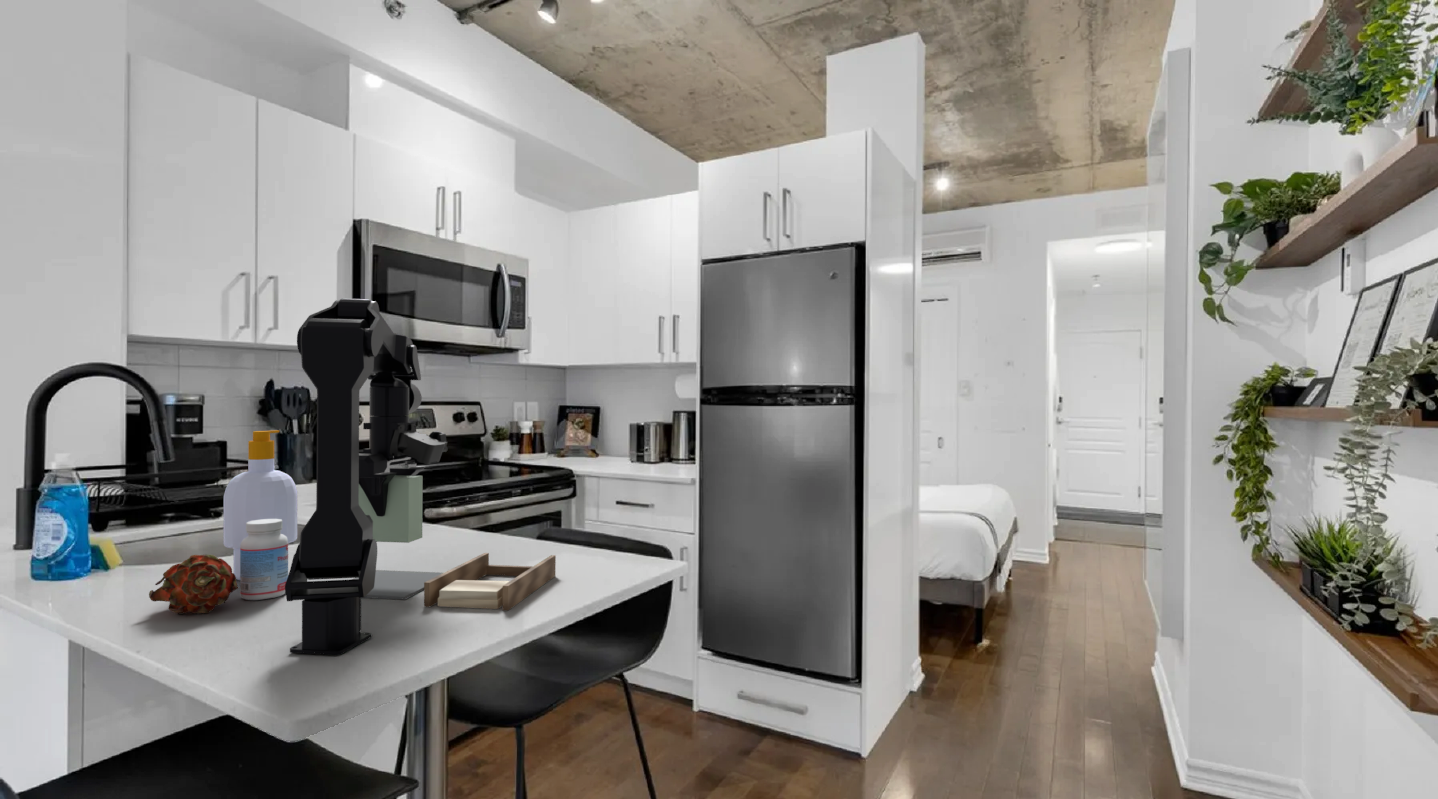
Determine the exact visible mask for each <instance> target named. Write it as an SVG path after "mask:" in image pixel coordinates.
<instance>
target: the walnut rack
mask: <svg viewBox="0 0 1438 799" xmlns="http://www.w3.org/2000/svg"><path fill="white" fill-rule="evenodd" d="M556 556H557V555H556V554H555V555H553V554H551V555H549V556H547V557H546V558H544V559H543V560H541V561H540V562H538V563H536V564H535V565H533V566H532V565H505V564H502V565H501V564H490V563H489V562H490V561H489V560H490V559H489V557H490V553H489V552H483V553H481V554H479V555H477V556H474V557H473V558H471V559H469V560H467V561H465V562H463V563H461V564H459V565H457V566H455V567H453V568H451V569H448V570H447V571H445V572H442V573H443V574H440V575H438V576H436V577H434V578H432V579H430V580H428V581H426V582H424V590H423V591H424V592H423V607H424V608H430V607H432V606H434V605H436V604H438V598H439V590H441V589H443V588H444V587H446V586H447V585H449V584H451V583H452V582H454V581H455V580H480V579H482V578H483V577H485V576H508V577H509V576H510V577H512V576H513V577H514V578H513V579H511V580H508V581H509V582H508V583H506V584H505V585H503V606H502V611H505V612H506V611H507V612H508V611H510V610H511V609H512V608H515V606H517V605H518V604H519V603H521V602H522V601H524V600H525V599H527V597H529V596H530V595H532V594H533V593H535V592H536V591H537V590H538V589H540V588H541V587H542V586H544V585H545V584H547V583H548V582H549V581H551V580H552V579H553V578H555V577H556V563H557V562H556V558H557V557H556Z"/></svg>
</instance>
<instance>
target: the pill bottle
mask: <svg viewBox="0 0 1438 799" xmlns="http://www.w3.org/2000/svg"><path fill="white" fill-rule="evenodd" d="M282 528H283V525H282V520H281V519H261V520H254V521H249V522H247V523H246V531H247V533H248V537H246V538H245V539H243V541H242V542H241V545H240V580H239V582H240V584H239V586H240V587H239V595H240V598H241V599H242V600H244V601H245V600H246V601H263V600H267V599H274V598H279V597H281V596H284V595H285V584H286V581H287V578H288V575H289V543H288V539H287V537H286V536H285V535H283V534H281V532H280V531H281V530H282Z"/></svg>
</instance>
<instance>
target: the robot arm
mask: <svg viewBox="0 0 1438 799" xmlns="http://www.w3.org/2000/svg"><path fill="white" fill-rule="evenodd" d="M413 343H414V342H413V341H412V339H411V338H410V337H408V336H407V335H404V334H399V333H395V332H394V331H393V330H392V328H391V327H390V326H389V324H388V323H387V322H386V320H385V318H384V317H383V316H382V314H381V313H380V307H379V304H378V302H377V301H376V300H375V301H373V300H372V299H371V298H370V299H365V298H341V299H338V300H336V299H335V300H334V302H332V304H331V306H329V307H326V308H324V309H322V310H319V311H317V312H314V313H311V314H310V315H308V317H307V318H306V319H305V321H303V323H302V324H301V326H300V327H299V329H298V331H297V335H296V345H297V346H296V347H297V350H298V353H299V354H300V356H301V368H302V370H303V372H304V373H305V374H306V375H307V377H308V379H309V380H310V381H311V383H312V385H313V386H314V387H315V389H316V489H315V490H316V491H315V492H316V494H315V495H316V498H315V499H316V500H315V501H316V503H315V504H316V507H315V508H316V509H315V510H314V513H313V514H312V515H311V517H310V518H309V520H308V521H307V522H306V524H305V525H304V527H303V528H302V530H301V531H300V537H299V543H298V545H297V547H296V550H295V553H294V554H293V557H292V560H291V561H292V562H291V565H290V569H289V571H288V578H287V581H286V584H285V594H284V595H285V598H286V601H287V602H293V601H301V642H299V643H297V644H295V645H293V646H291V647H289V653H293V654H311V655H332V656H338V655H340V656H341V655H342V654H345V653H346V652H347V651H350V650H351V649H353V648H354V647H357V646H358V645H360V644H362V643H364V642H366V641H368V640H369V639H371V638H372V636H373V634H372V632H364V631H363V632H362V599H361V598H362V597H365V596H366V595H367V594H368V593H369V592H370V591H371V590H372V589H373V588H374V584H375V573H376V570H377V560H378V542H376V540H375V539H373V520H372V519H371V517H370V515H365V513H364V512H363V510H362V509H361V507H360V506H359V485H360V486H361V488H362V489H363V491H364V493H365V495H366V496H367V498H368V500H369V502H370V504H371V506H372V507H373V509H374V511H375V513H376V515H377V516H381V517H382V516H385V511H386V505H387V495H388V485H389V482H390V481H391V480H392V479H393V477H394V476H395V475H407V476H417V475H418V474H419V473H420V472H422V471H423V470H424V469H425V467H424V466H419V467H418V466H417V464H424V465H426V466H427V465H433V464H437V463H439V462H440V460H441V457H442V455H443V453H444V452H445V453H446V452H447V451H448V449H449V448H448V447H447V445H448V441H447V435H446V433H445V432H442V431H438V430H436V431H432V432H430V434H427V433H424V434H423V433H420V432H417V425H416V424H415V423H416V422H415V421H414V422H413V421H410V414H412V413H414V412H415V411H416V410H418V409H419V407H420V406H421V404H422V398H423V397H422V393H421V391H420V389H419V388H418V386H416V385H415V384H414V383H412V381H422V376H421V370H420V363H419V362H420V361H419V354H418V349H417V346H416V345H415V344H413ZM367 380H369V381H370V383H369V422H363V425H362V426H363V430H369V436H368V437H369V443H368V444H369V448H363V449H362V450H363V452H362V453H360V390H361V389H362V388H363V386H364V384H365V383H366V381H367ZM354 578H359V579H354ZM308 580H309V581H308ZM314 580H315V581H314Z"/></svg>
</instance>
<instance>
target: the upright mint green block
mask: <svg viewBox="0 0 1438 799" xmlns="http://www.w3.org/2000/svg"><path fill="white" fill-rule="evenodd" d="M423 480H424V479H423V475H415V476H407V475H395V476H394V477H393V479H392V480H391V481H390V482H389V485H388V495H387V505H386V511H385V516H382V517H381V516H377V515H376V513H375V511H374V509H373V507H372V506H371V504H370V502H369V500H368V498H367V496H366V495H365V493H364V491H363V489H362V488H361V486H360V485H359V506H360V507H361V509H362V510H363V512H364V513H365V515H370V517H371V519H372V520H373V539H375V540H376V542H377V543H404V544H405V543H406V544H409V543H411V542H414V541H417V540H419V539H422V538H423V500H424V498H423V486H424V485H423Z"/></svg>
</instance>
